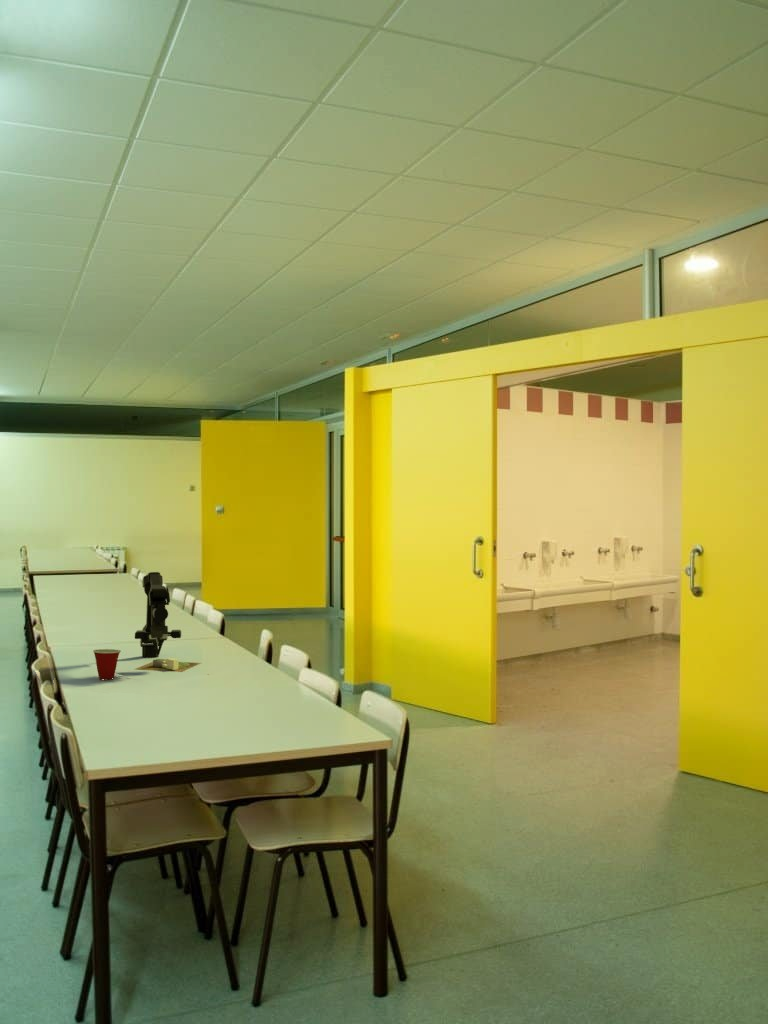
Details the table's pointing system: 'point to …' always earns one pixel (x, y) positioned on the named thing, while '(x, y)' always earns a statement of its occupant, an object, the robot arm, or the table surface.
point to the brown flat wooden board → (181, 667)
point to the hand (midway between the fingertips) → (158, 654)
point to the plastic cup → (106, 662)
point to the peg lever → (166, 663)
